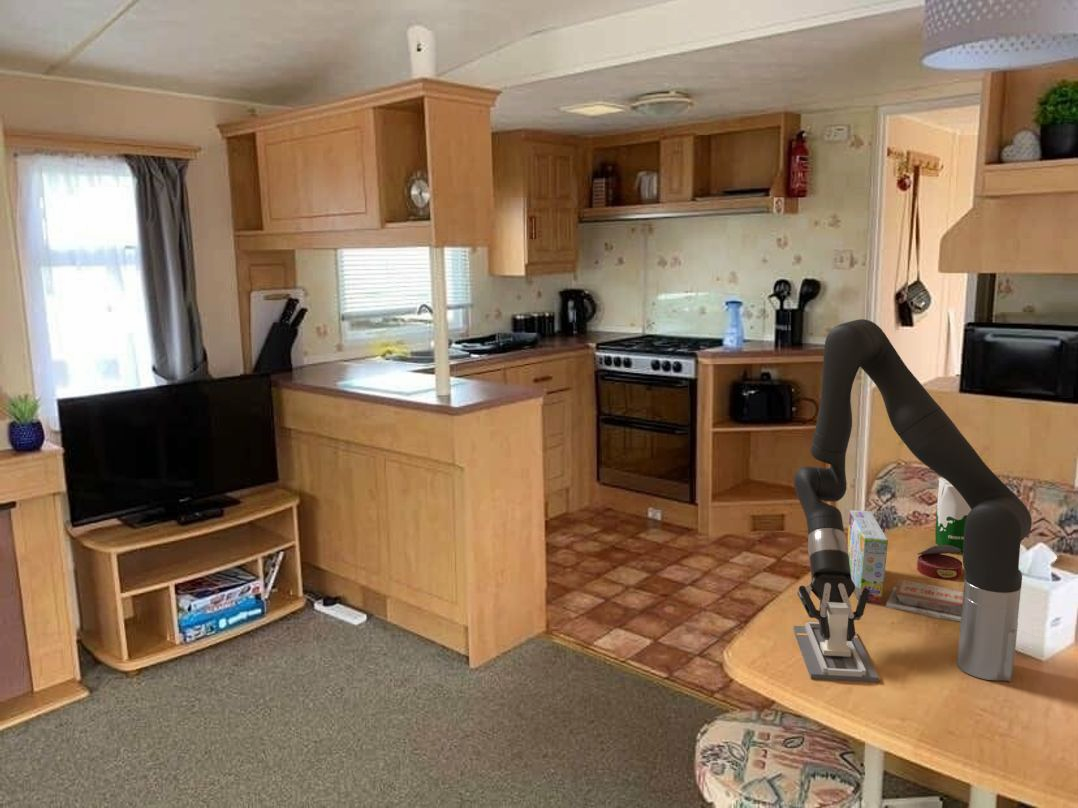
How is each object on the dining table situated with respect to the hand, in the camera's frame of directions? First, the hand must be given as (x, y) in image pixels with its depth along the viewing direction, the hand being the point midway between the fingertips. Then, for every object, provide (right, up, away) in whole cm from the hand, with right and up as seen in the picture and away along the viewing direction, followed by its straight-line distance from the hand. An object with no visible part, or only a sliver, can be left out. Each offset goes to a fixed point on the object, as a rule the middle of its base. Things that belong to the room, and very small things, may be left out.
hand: (838, 638), depth 159 cm
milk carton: (+52, +7, +59) cm, 79 cm away
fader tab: (0, -3, +3) cm, 4 cm away
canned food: (+40, +4, +44) cm, 60 cm away
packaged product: (+30, -1, +25) cm, 39 cm away
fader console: (+1, -4, +4) cm, 6 cm away
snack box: (+19, +2, +38) cm, 43 cm away
